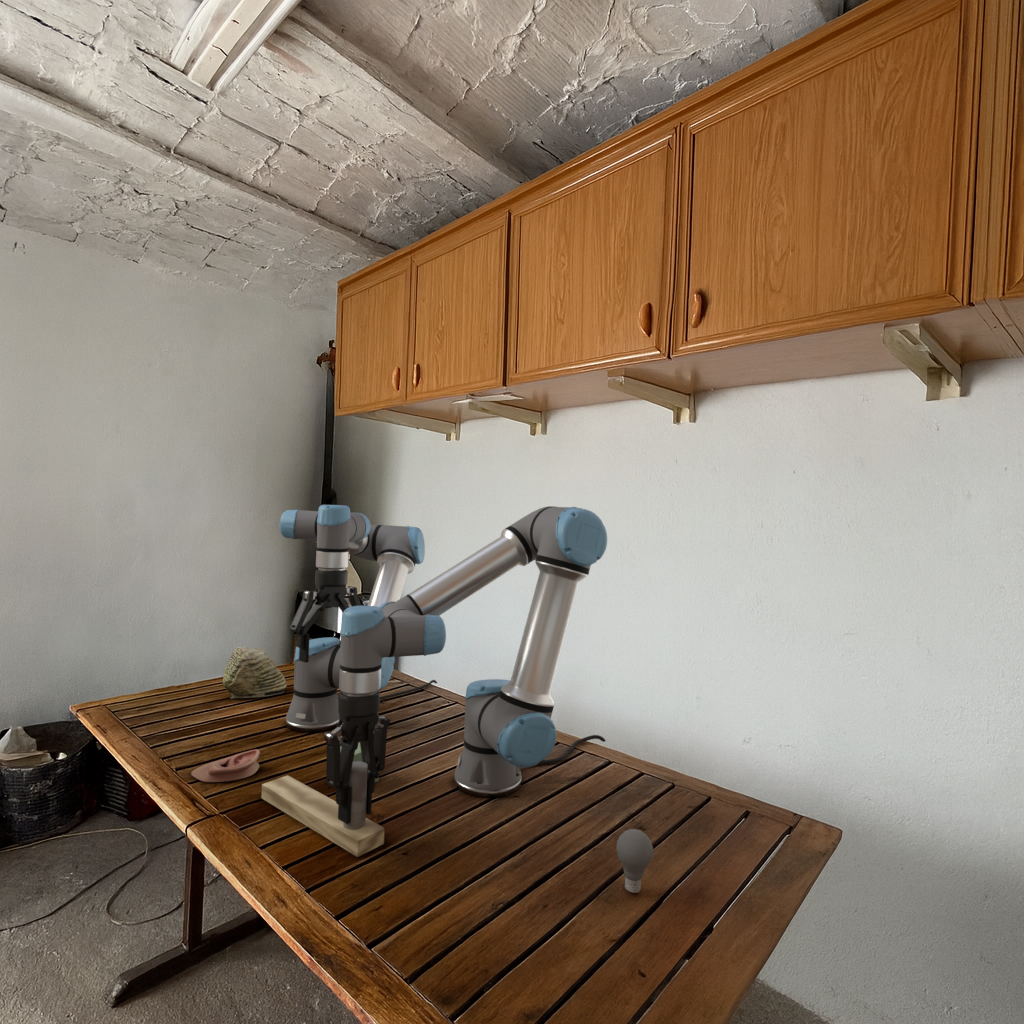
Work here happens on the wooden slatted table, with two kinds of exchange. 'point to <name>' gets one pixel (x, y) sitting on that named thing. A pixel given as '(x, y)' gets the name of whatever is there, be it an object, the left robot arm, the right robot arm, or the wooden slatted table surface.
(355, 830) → the birch board
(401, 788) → the wooden slatted table surface
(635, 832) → the light bulb
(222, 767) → the anatomical model
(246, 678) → the fossil
